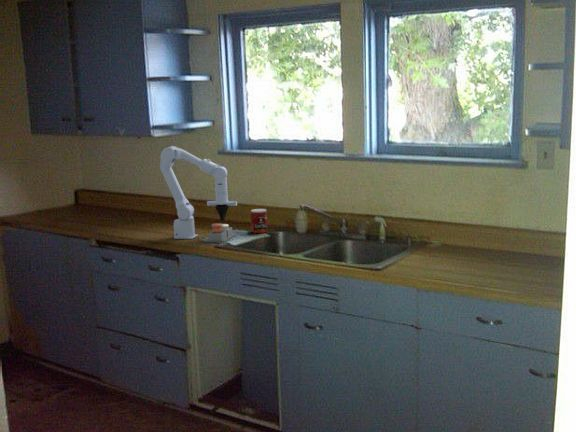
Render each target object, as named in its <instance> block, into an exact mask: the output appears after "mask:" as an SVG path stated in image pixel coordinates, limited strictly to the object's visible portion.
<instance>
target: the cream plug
mask: <svg viewBox="0 0 576 432" xmlns="http://www.w3.org/2000/svg"><path fill="white" fill-rule="evenodd" d="M221 224H222V227H221V228H222V230H227V229H228V227H230V225H229V224H227V223H221Z"/></svg>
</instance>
